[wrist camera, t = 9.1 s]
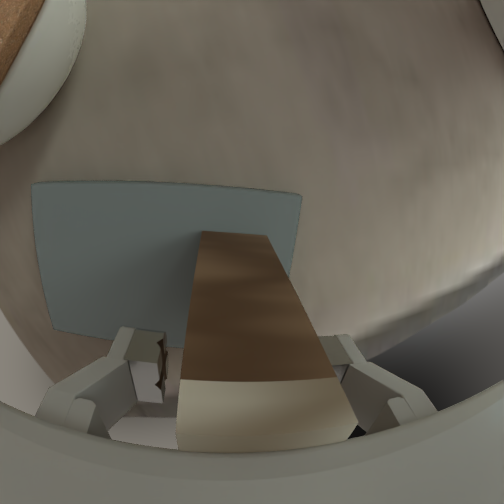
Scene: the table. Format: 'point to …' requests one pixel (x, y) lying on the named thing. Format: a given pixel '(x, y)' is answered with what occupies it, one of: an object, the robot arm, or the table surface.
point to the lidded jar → (35, 56)
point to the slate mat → (141, 248)
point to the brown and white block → (253, 358)
